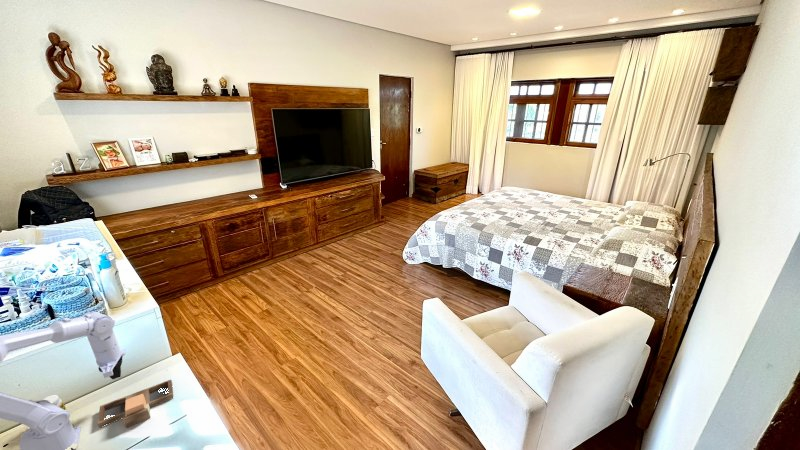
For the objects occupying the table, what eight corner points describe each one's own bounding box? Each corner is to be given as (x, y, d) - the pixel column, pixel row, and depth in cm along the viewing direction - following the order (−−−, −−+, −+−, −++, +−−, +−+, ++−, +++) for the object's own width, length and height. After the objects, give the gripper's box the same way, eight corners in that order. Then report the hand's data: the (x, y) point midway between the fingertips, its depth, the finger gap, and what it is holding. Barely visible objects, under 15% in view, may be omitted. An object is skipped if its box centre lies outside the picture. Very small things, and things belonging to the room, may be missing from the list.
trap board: (98, 439, 93) (94, 431, 92) (101, 410, 101) (98, 401, 100) (174, 407, 104) (172, 399, 103) (172, 383, 112) (170, 375, 111)
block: (128, 419, 98) (125, 410, 96) (128, 408, 101) (125, 400, 99) (146, 412, 100) (143, 403, 99) (145, 401, 103) (143, 393, 102)
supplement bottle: (54, 427, 95) (44, 409, 92) (42, 423, 96) (32, 405, 93) (72, 413, 100) (64, 395, 96) (61, 409, 100) (51, 391, 97)
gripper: (120, 356, 94) (131, 387, 100) (122, 327, 105) (132, 357, 110) (88, 366, 90) (102, 397, 96) (94, 335, 101) (106, 365, 106)
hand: (116, 376), depth 103 cm, fingers closed
